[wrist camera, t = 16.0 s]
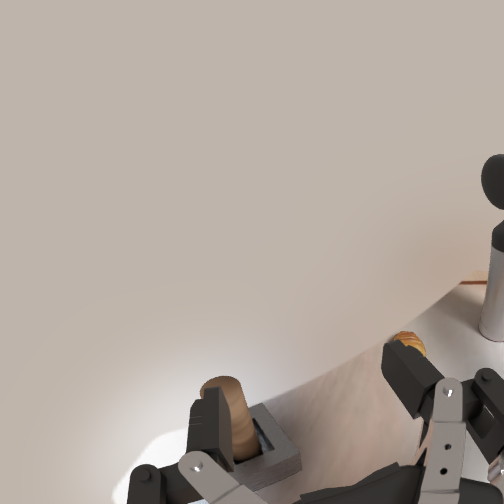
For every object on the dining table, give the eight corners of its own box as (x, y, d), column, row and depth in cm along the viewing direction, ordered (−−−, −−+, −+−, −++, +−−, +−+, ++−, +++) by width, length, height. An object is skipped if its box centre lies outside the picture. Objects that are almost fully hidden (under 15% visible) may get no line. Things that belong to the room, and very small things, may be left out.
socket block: (267, 423, 34) (262, 402, 32) (301, 469, 25) (299, 452, 23) (203, 447, 30) (192, 428, 29) (227, 500, 21) (215, 486, 20)
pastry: (387, 339, 46) (389, 323, 45) (419, 337, 43) (422, 321, 42) (389, 372, 38) (392, 355, 36) (426, 369, 35) (430, 352, 34)
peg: (268, 448, 28) (247, 378, 24) (258, 472, 25) (231, 408, 21) (239, 443, 30) (211, 373, 26) (228, 465, 26) (192, 399, 22)
